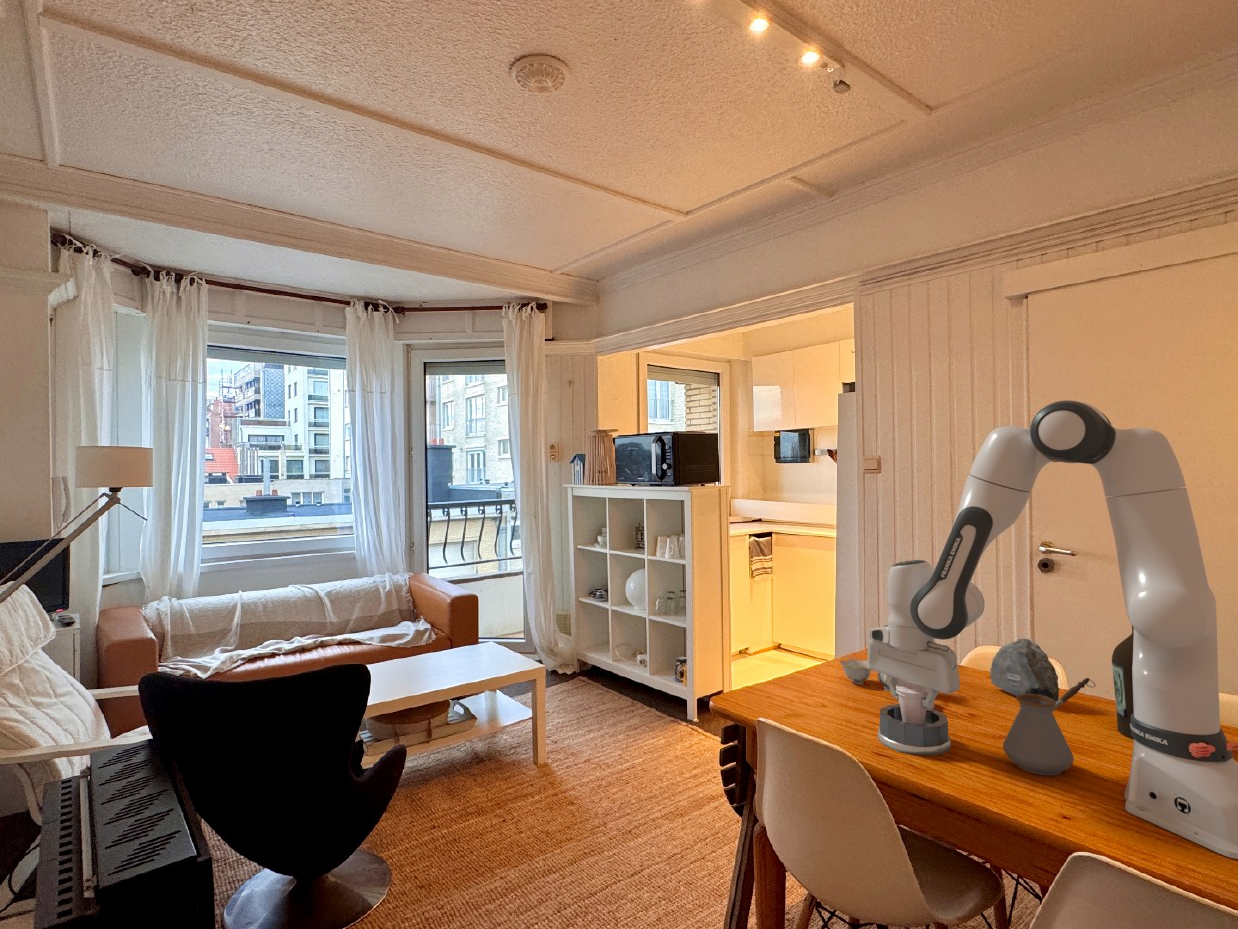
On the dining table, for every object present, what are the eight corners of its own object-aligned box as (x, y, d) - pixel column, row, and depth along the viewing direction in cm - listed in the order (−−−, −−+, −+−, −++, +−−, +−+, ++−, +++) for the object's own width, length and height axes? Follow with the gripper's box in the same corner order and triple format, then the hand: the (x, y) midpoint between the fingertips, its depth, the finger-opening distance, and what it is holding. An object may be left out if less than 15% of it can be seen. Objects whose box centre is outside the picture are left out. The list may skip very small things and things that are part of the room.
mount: (965, 752, 133) (965, 725, 133) (901, 758, 131) (900, 730, 131) (924, 726, 147) (923, 701, 147) (865, 731, 145) (865, 706, 145)
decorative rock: (1063, 708, 156) (1061, 644, 156) (1040, 711, 154) (1038, 647, 155) (1007, 686, 172) (1005, 629, 172) (985, 689, 170) (984, 631, 170)
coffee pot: (1045, 785, 119) (1042, 701, 119) (989, 760, 129) (987, 683, 130) (1123, 764, 126) (1121, 685, 126) (1064, 742, 137) (1062, 669, 137)
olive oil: (1172, 731, 141) (1168, 614, 142) (1183, 749, 132) (1179, 624, 132) (1110, 722, 147) (1107, 610, 147) (1117, 739, 137) (1113, 619, 138)
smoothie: (934, 740, 135) (931, 672, 135) (901, 739, 137) (897, 672, 137) (927, 728, 141) (923, 663, 141) (895, 727, 143) (892, 662, 143)
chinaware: (830, 686, 180) (823, 626, 180) (874, 671, 187) (868, 613, 187) (914, 720, 155) (907, 650, 154) (962, 701, 162) (955, 634, 161)
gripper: (965, 645, 131) (967, 715, 131) (882, 625, 149) (883, 686, 149) (945, 650, 128) (947, 721, 128) (862, 629, 147) (864, 691, 146)
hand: (912, 702), depth 139 cm, fingers closed on smoothie, 6 cm apart
